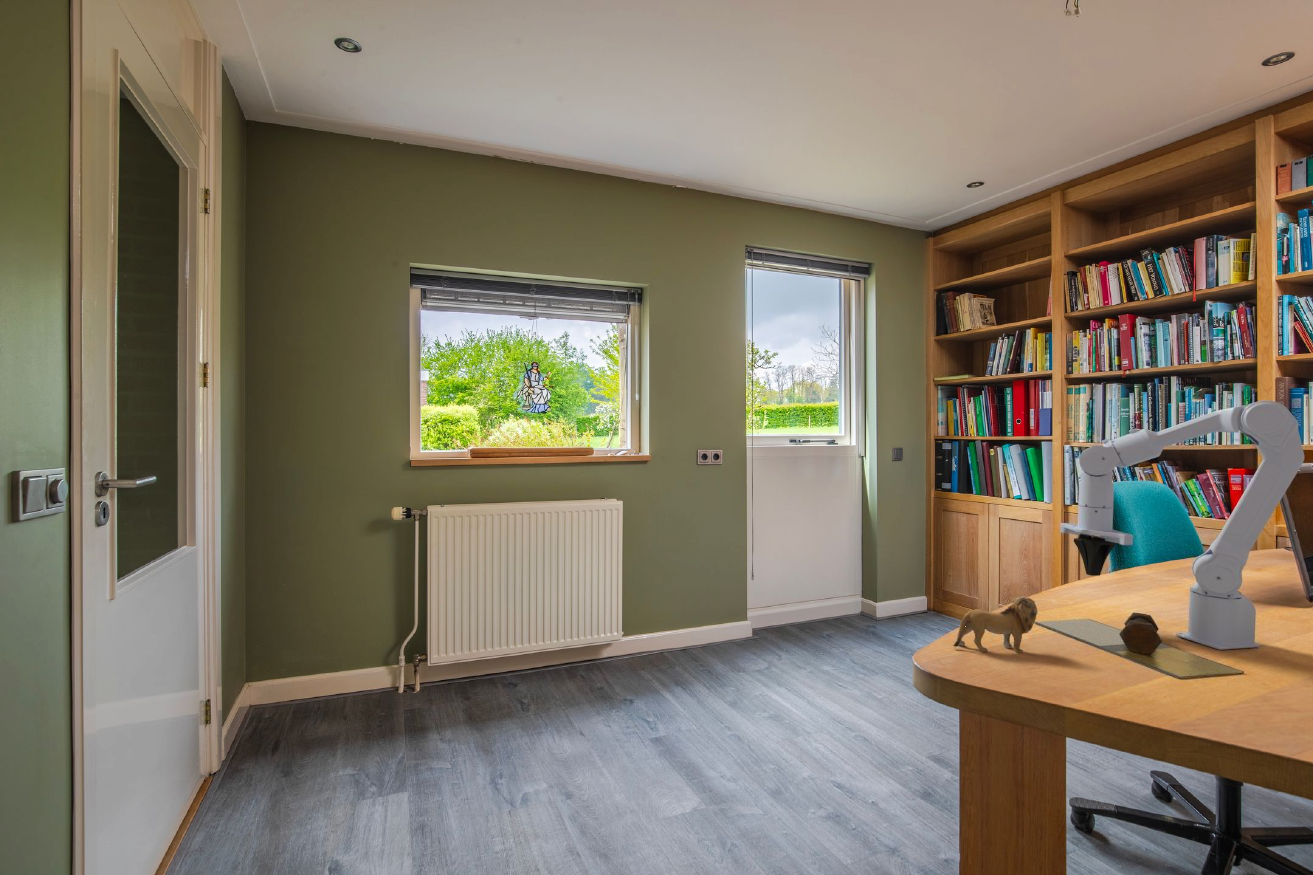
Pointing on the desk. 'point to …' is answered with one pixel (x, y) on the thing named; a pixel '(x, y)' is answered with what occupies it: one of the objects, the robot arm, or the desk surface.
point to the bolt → (1140, 634)
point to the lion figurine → (1000, 623)
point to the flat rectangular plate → (1160, 659)
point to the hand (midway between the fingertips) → (1093, 574)
